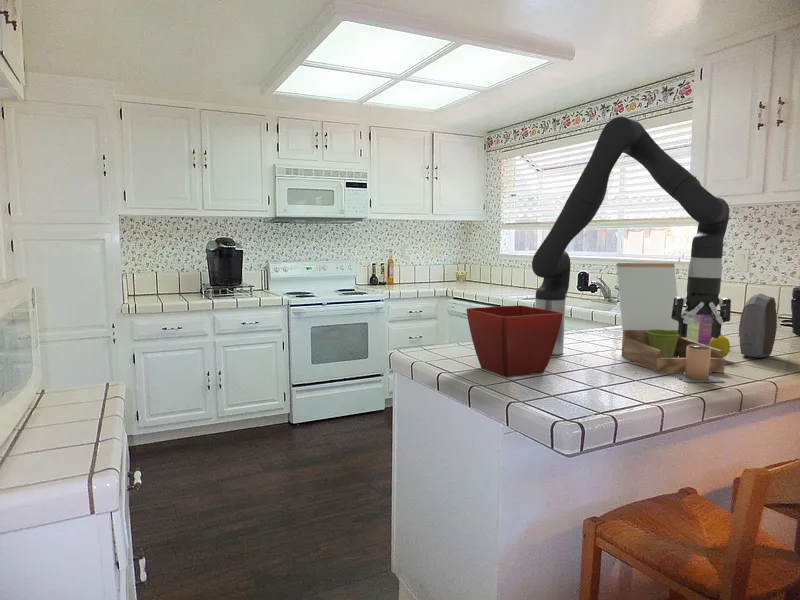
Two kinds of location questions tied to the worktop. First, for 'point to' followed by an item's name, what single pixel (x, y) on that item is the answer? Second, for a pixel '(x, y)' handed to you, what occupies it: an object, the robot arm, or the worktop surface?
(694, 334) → the box
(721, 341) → the lemon
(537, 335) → the plant pot
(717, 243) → the robot arm
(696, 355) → the tan cylinder
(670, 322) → the propped lid
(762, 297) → the soft grey pack
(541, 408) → the worktop surface
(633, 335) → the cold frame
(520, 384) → the worktop surface
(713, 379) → the mat
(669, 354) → the plant pot
